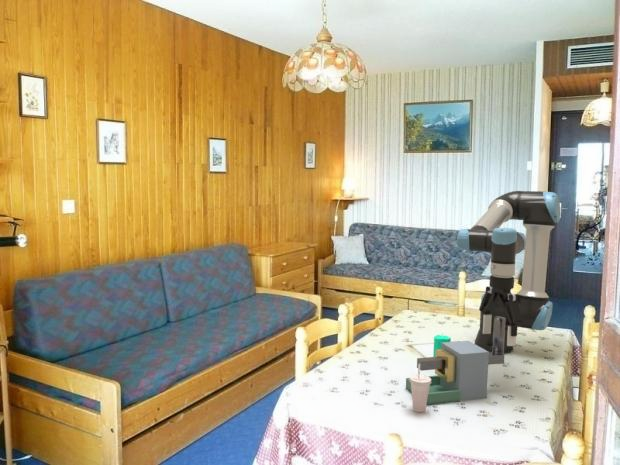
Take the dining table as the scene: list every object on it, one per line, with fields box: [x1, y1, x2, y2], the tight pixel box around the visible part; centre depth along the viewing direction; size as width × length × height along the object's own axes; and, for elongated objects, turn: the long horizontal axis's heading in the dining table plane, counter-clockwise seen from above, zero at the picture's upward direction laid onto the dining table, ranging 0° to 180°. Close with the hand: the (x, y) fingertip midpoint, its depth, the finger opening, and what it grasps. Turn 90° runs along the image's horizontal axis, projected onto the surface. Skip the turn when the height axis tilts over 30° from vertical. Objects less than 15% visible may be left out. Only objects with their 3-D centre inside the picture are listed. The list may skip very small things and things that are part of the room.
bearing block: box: [440, 340, 489, 401], centre depth 178 cm, size 10×12×15 cm
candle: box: [432, 332, 452, 357], centre depth 203 cm, size 6×6×12 cm
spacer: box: [434, 349, 455, 382], centre depth 176 cm, size 2×8×8 cm, turn 15°
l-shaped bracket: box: [416, 316, 506, 372], centre depth 176 cm, size 30×4×15 cm, turn 105°
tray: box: [405, 374, 461, 406], centre depth 175 cm, size 12×14×4 cm
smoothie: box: [409, 364, 431, 413], centre depth 164 cm, size 6×6×14 cm
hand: (498, 339), depth 180 cm, fingers open, 13 cm apart
